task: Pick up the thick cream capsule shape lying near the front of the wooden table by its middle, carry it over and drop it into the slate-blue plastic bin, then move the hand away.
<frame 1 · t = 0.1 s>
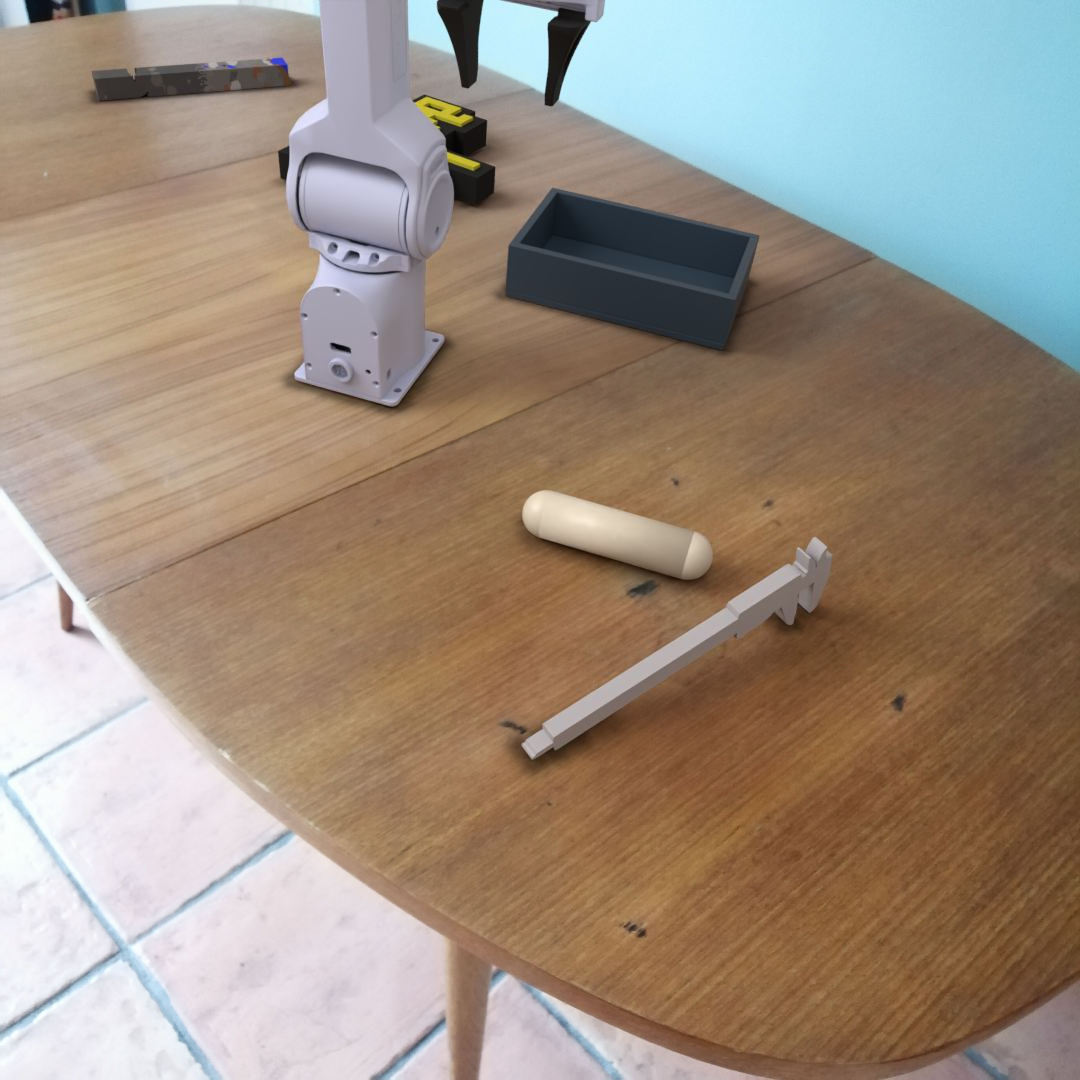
hand: (510, 93, 88), 10 cm above the table, tool pointing down, fingers open, 7 cm apart
caliper: (678, 677, 56), on the table
pillar: (197, 90, 108), on the table
bin: (629, 289, 85), on the table
cream capsule shape: (612, 551, 62), on the table
toy: (413, 172, 98), on the table
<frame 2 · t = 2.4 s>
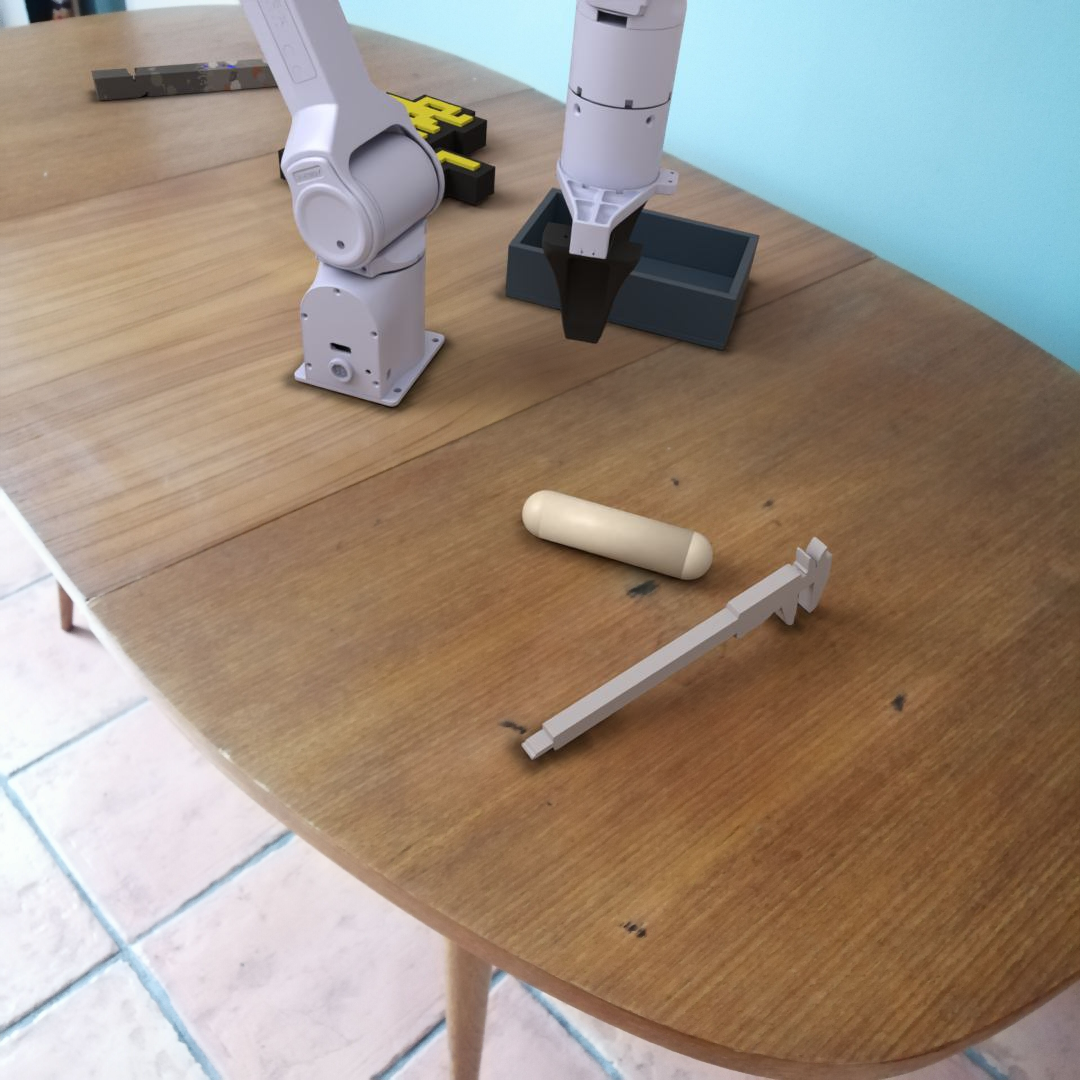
hand: (591, 306, 64), 10 cm above the table, tool pointing down, fingers open, 7 cm apart
nothing on the table moved.
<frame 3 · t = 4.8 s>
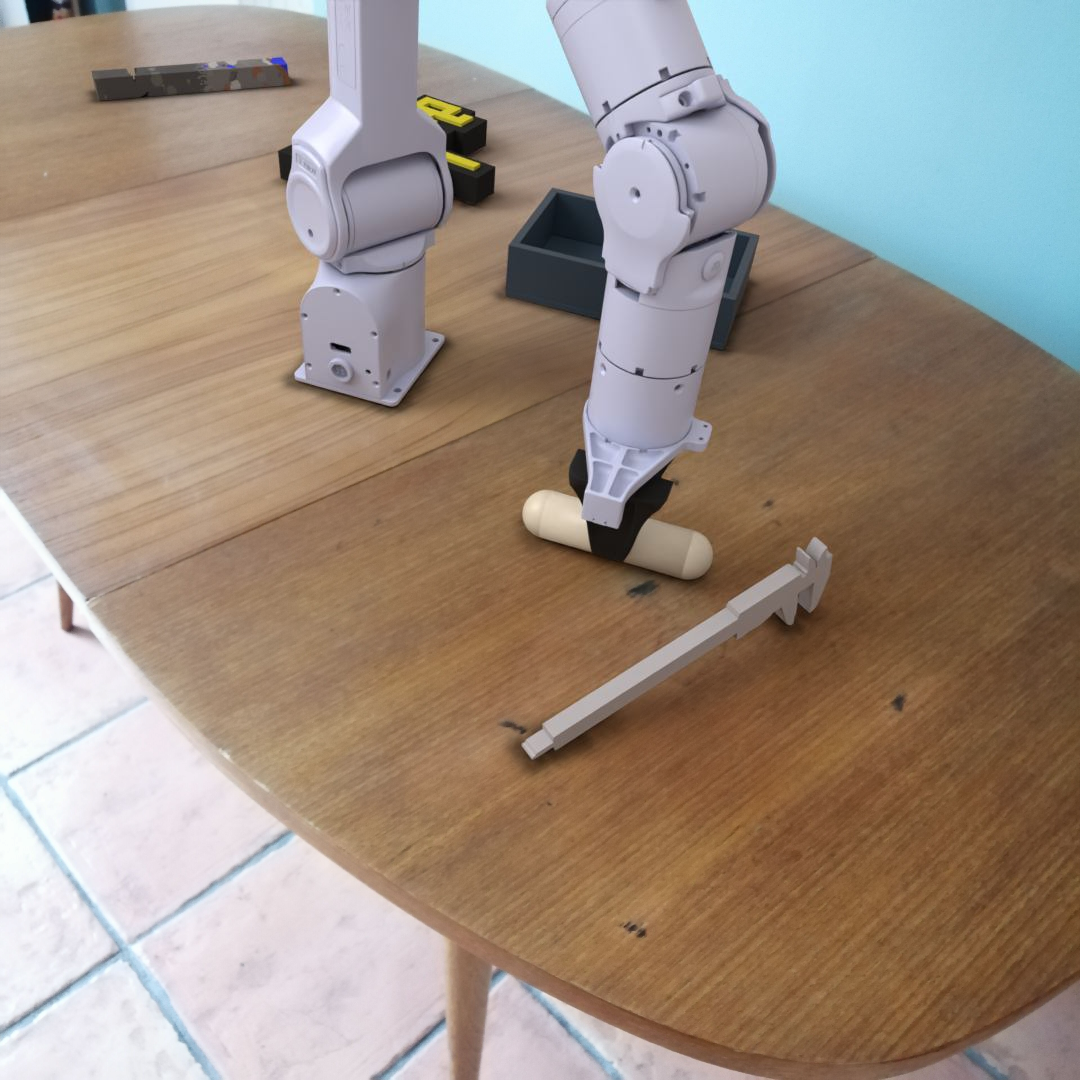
hand: (616, 535, 61), 1 cm above the table, tool pointing down, fingers closed on cream capsule shape, 3 cm apart
cream capsule shape: (613, 551, 62), on the table, touching gripper
everything else where it was.
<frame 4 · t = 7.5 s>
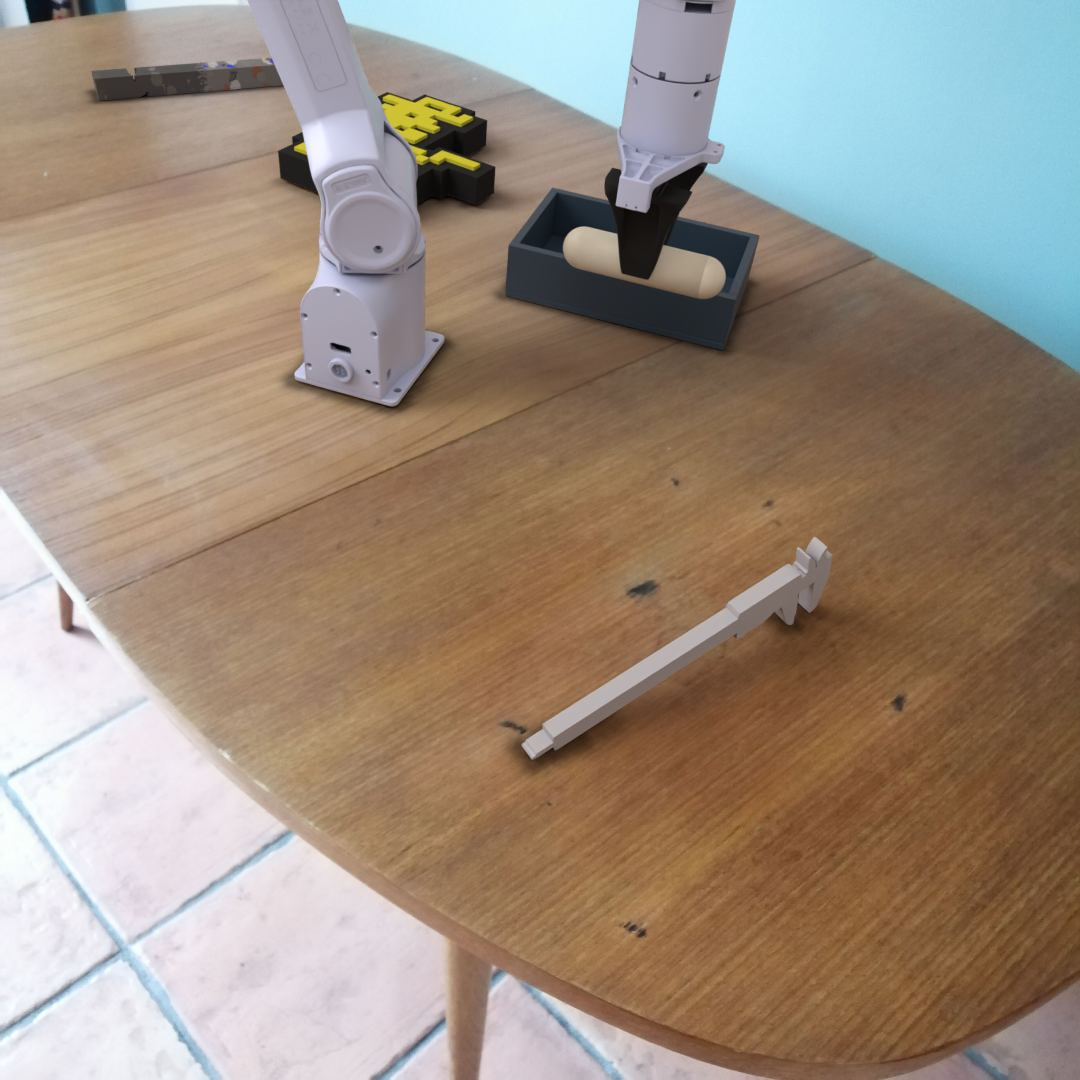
hand: (641, 263, 72), 8 cm above the table, tool pointing down, fingers closed on cream capsule shape, 3 cm apart
cream capsule shape: (640, 281, 73), point 7 cm above the table, touching gripper
everything else where it was.
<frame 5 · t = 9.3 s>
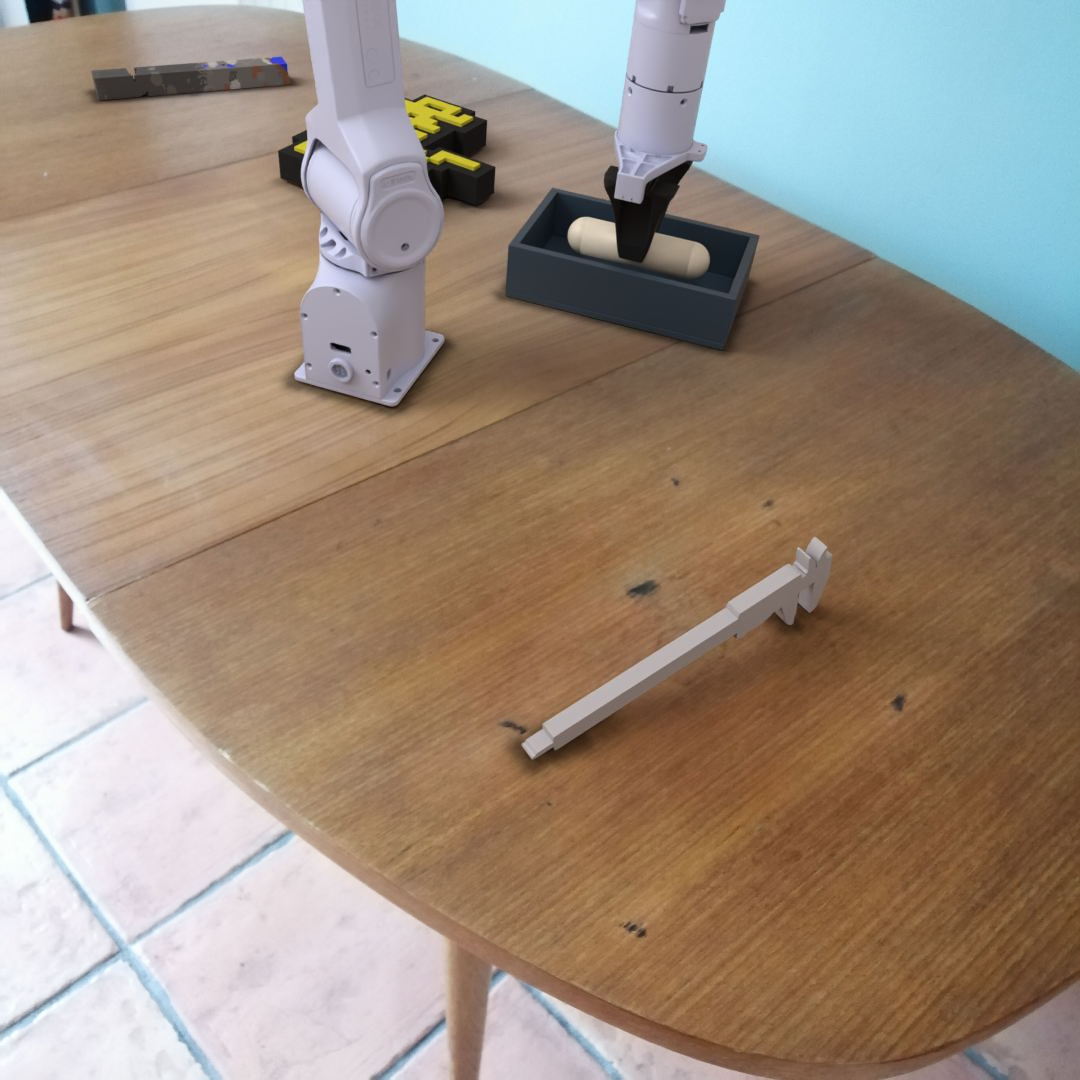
hand: (636, 249, 83), 4 cm above the table, tool pointing down, fingers closed on cream capsule shape, 3 cm apart
cream capsule shape: (635, 264, 84), point 2 cm above the table, touching gripper
everything else where it was.
when the fingers open (2 cm above the table, at t = 10.1 s): cream capsule shape stays where it is, resting on bin.
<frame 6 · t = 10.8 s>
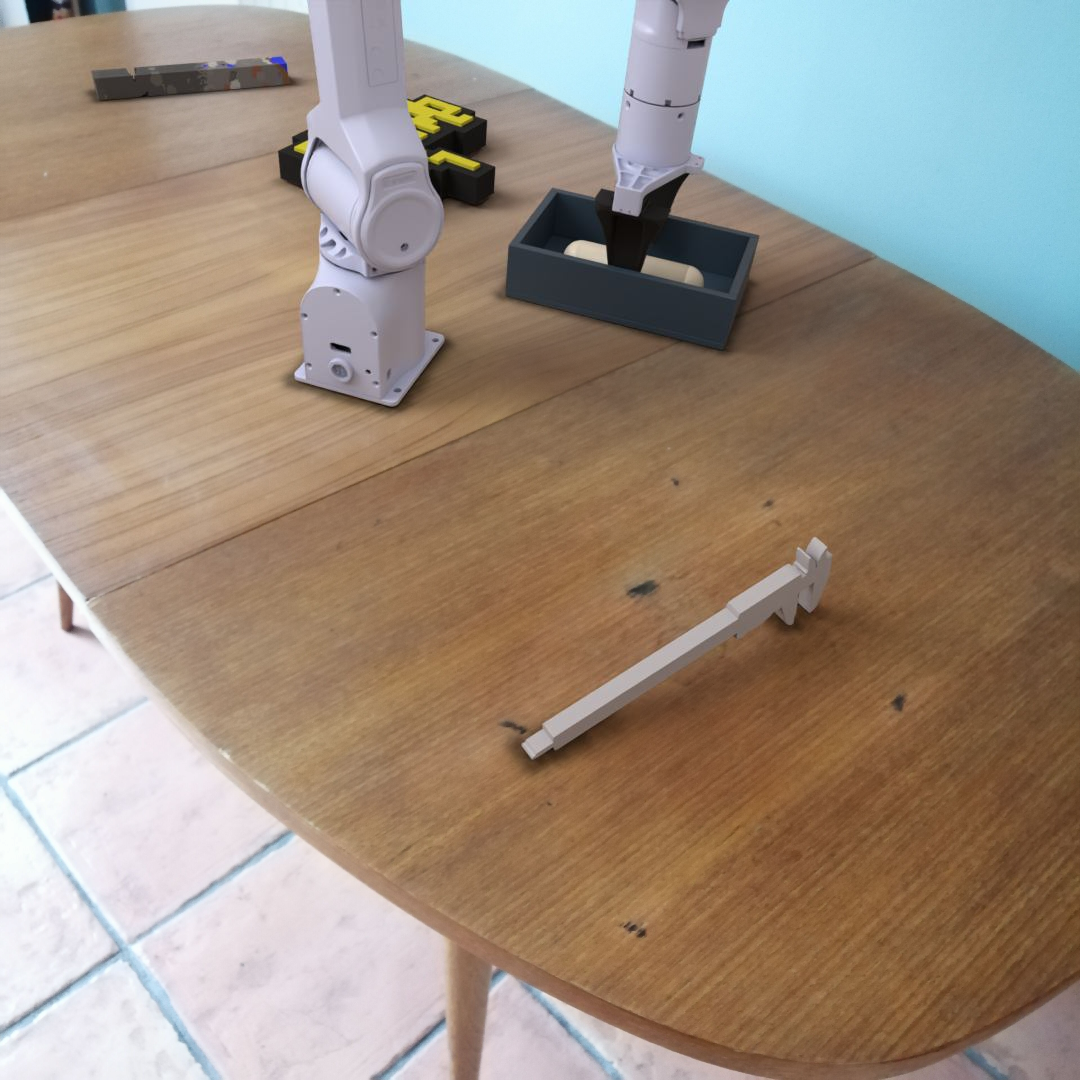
hand: (634, 260, 83), 3 cm above the table, tool pointing down, fingers open, 7 cm apart
cream capsule shape: (632, 281, 85), point 1 cm above the table, tilted 27°, touching bin
everything else where it was.
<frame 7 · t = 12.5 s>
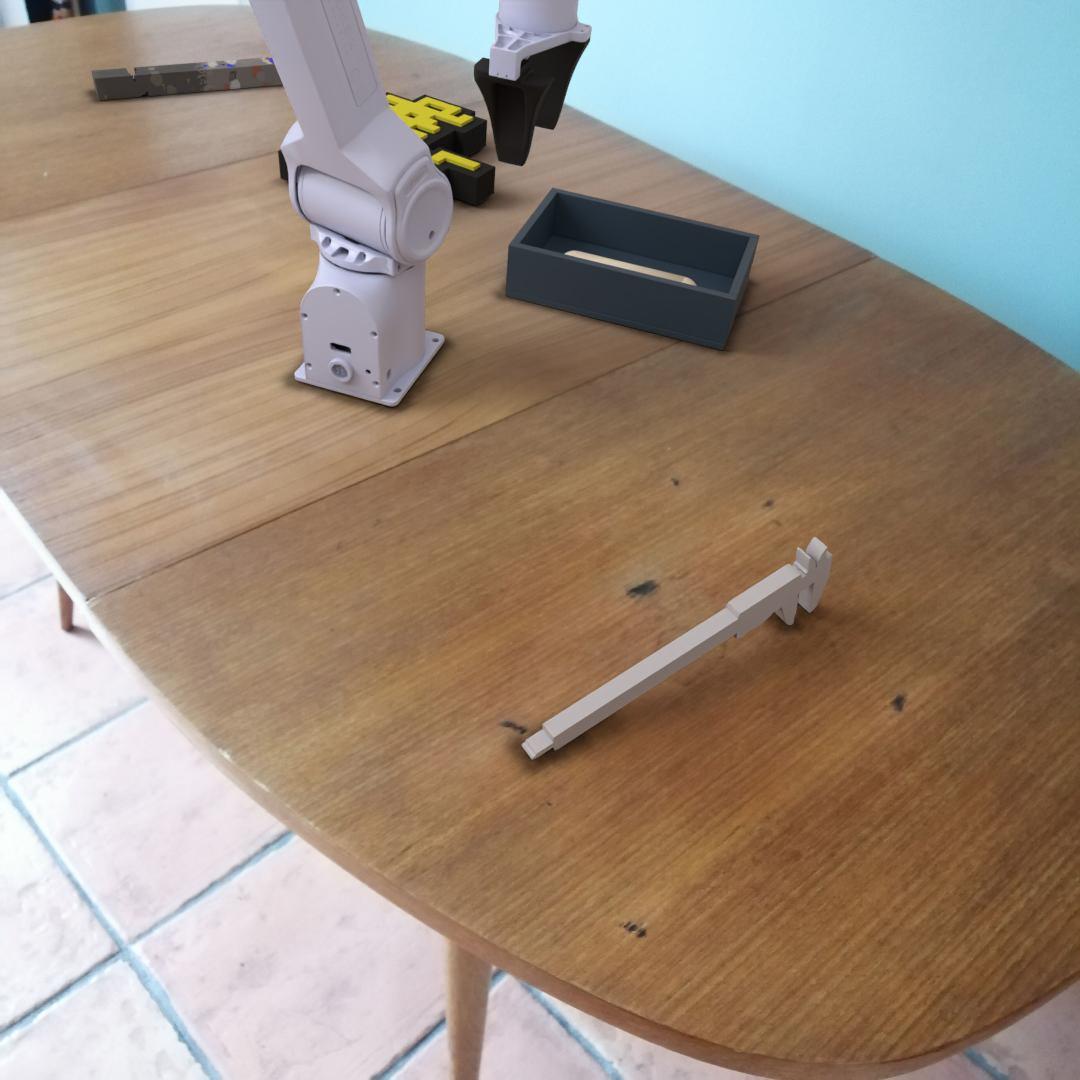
hand: (527, 143, 80), 10 cm above the table, tool pointing down, fingers open, 7 cm apart
cream capsule shape: (631, 270, 83), point 2 cm above the table, tilted 102°, touching bin
everything else where it was.
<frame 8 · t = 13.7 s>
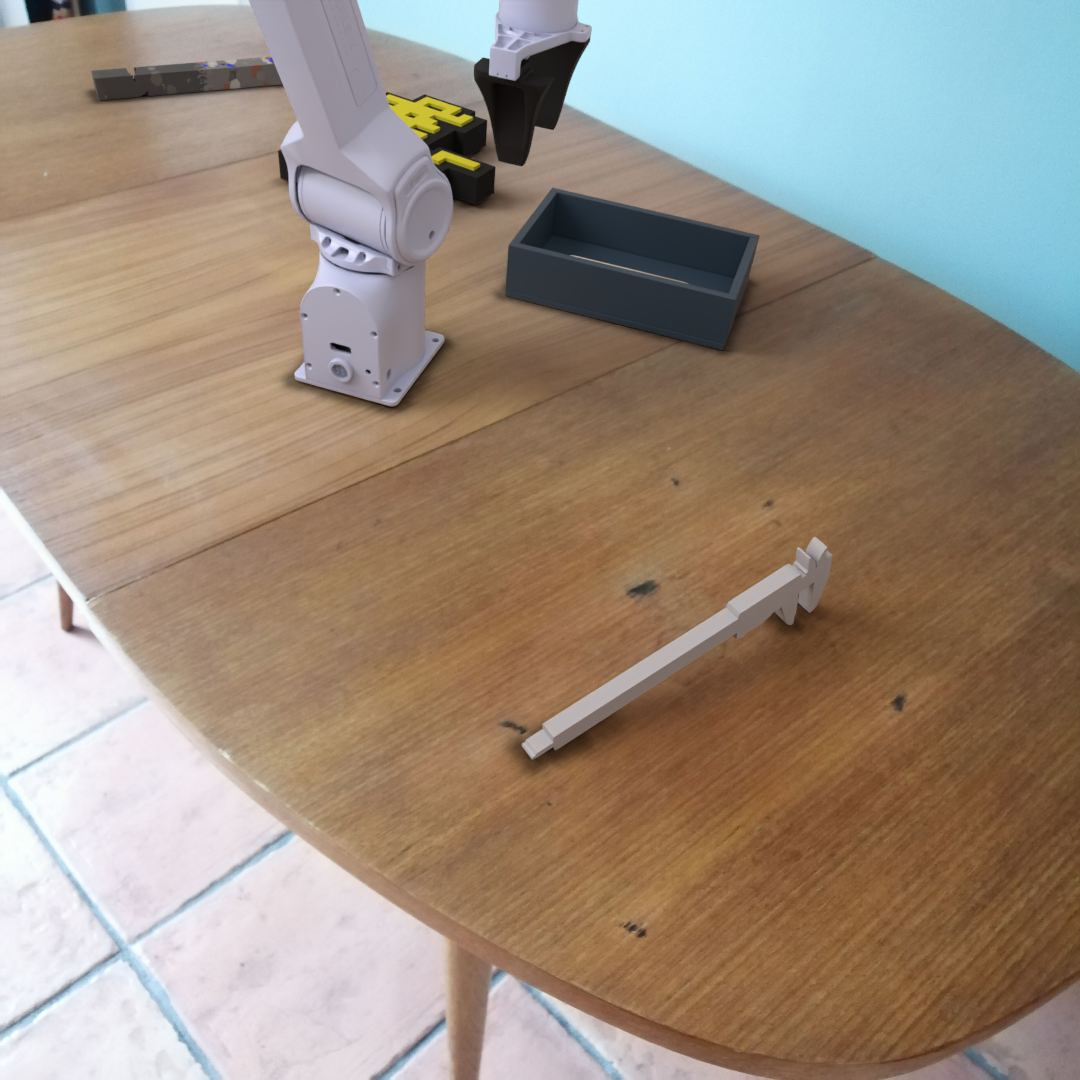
hand: (527, 143, 80), 10 cm above the table, tool pointing down, fingers open, 7 cm apart
cream capsule shape: (629, 269, 81), point 3 cm above the table, tilted 134°, touching bin
everything else where it was.
at the end: cream capsule shape inside the target area in the bin (2.4 cm from its centre), point 3.1 cm above the bin's base; the gripper is holding nothing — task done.
